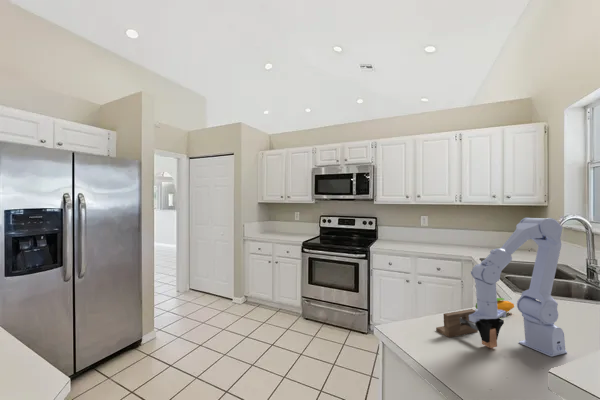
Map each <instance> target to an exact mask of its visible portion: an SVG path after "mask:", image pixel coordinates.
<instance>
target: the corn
mask: <svg viewBox="0 0 600 400" xmlns="http://www.w3.org/2000/svg"><path fill="white" fill-rule="evenodd" d="M513 308H515V304H514V303H512V302H511V301H510V300H505V298H503V297H501V298H500V297H497V309H498V310H503V311H506V315H507V314H508V312H510V311H511V310H513ZM475 309H477V302H476V303H475Z"/></svg>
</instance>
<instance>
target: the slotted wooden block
mask: <svg viewBox="0 0 600 400" xmlns="http://www.w3.org/2000/svg"><path fill="white" fill-rule="evenodd" d="M474 312H476V311H475V309H472V308H471V309H465V310H464V309H463V310H457V311H452V312H446V313H443V326H438V327H437V326H436V329H435V330H436V331H437V332H438V333H440V334H442V335H444V336H446V337H447V338H449V339H450V338H454V337H459V336H464V334H465V335H469V333H470V334H473V333H479V331H478V330H475V329H473V328H471V327H469V326H467V325H464V324H462V323H460V318H463V319H465V320H467V321H469V315H470V314H473V313H474ZM470 322H471V321H470ZM472 323H474V322H472ZM474 324H475V323H474Z"/></svg>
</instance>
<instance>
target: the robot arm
mask: <svg viewBox="0 0 600 400" xmlns="http://www.w3.org/2000/svg"><path fill="white" fill-rule="evenodd" d="M515 228H516V229H515V230H514V231H513V233H511V235H509V237H508V238H507V240H506V241H505V242H504V243H503V245H502V246H501V247H500V248H497V247H496V248H494V249H491V250H490V252H489V254H488V255H487V257H486V258H484V259H483V260H481V262H480V263H478V264H475V265H474V266H473V267H472V269H471V271H470V275H471V276H472V278H473V279H474V283H475V294H476V303H477V309H476V308H475V309H474V310H475V311H476V312H474V313H473V314H470V315H469V321H471V322H474V323H475V325H476V326H477V328H478V330H479V331H478V334H479V335H480V338H481V341H482V340H483V341H485V342H487V343H489V340H490V329H491V327H494V328H496V336H497V339H498V338H499V333H500V330H501V328H502V327H503V325H504V323H505V322H504V319H501V317H503V318H506V317H507V314H506V313H507V312H506V311H503V310H498V309H497V298H498V297H497V295H498V294H497V282H499V281H500V279H501V274H502V271H503V270H504V269H505V268H506V267H507V266H508V265H509V264H510V263H511V262H512V260H513V257H512V255H513V254H514V253H515V252H516V251H517V250H518V249H520V248H521V246H523V245H524V244H525V243H526V242H527V241H529V240H532V241H533V242H535V244H536V245H537V246H538V247H537V251H536V257H535V261H534V265H533V270H532V273H531V278H530V279H531V280H530V283H529V287H528V289H526V290H523V291H522V292H521V295H520V297H519V298H518V300H517V302H516V307H517V310H518V311H519V312H520V313H521V316H522V318H523V326H524V327H523V329H524V331H523V332H524V339H523V340H520V341H518V343H519V344H520V345H523V346H525V347H527V348H530V349H532V350H535V351H537V352H538V353H541V354H544V355H547V357H556V356H560V355H564V354H567V353H568V351H567V350H566V343H565V342H566V341H565V332H564V330H563V328H561V327H559V326H557V325H555V323H556V322H557V321H558V319H559V312H558V306H559V305H558V302H557V301H556V300H555V299H554V297H553V296H552V291H553V287H554V286H553V285H554V280H555V276H556V273H557V267H558V264H559V263H558V262H559V257H560V254H561V253H560V252H561V249H562V248H561V247H562V240H561V237H562V232H563V226H562V225H561V224H560V223H559V222H558V221H557V219H555V218H552V217H547V218H546V217H545V218H543V217H540V218H539V217H524V218H522V219H521V220H520V221H519V222H518V223H517V224H516V225H515Z"/></svg>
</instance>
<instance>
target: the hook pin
mask: <svg viewBox="0 0 600 400" xmlns="http://www.w3.org/2000/svg"><path fill="white" fill-rule="evenodd" d="M460 323H462V324H464V325H467V326H469V327H471V328H473V329H475V330H478V328H477V326H476V325H475V324H474V323H472V322H470V321H467V320H465V319H463V318H460ZM478 332H479V330H478ZM481 344H482V345H484V346H486V347H487V348H488V349H489V348H490V349H493V348H496V347H498V338H497V336H496V328H494V327H491V329H490V340H489V343H487V342H485V341H483V340H482V339H481Z"/></svg>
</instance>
